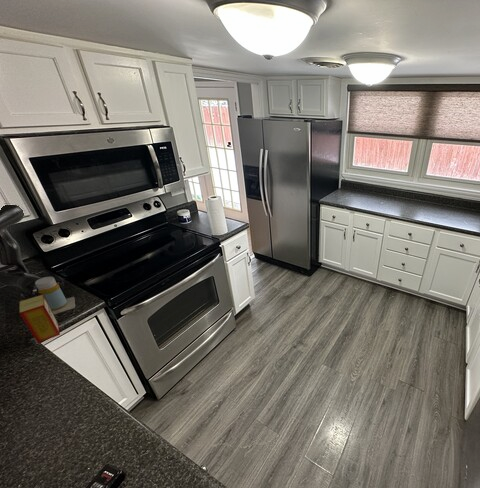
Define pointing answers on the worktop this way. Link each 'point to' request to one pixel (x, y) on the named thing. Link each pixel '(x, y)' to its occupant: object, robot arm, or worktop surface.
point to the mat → (68, 306)
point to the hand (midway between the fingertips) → (52, 292)
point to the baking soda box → (39, 318)
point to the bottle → (51, 293)
